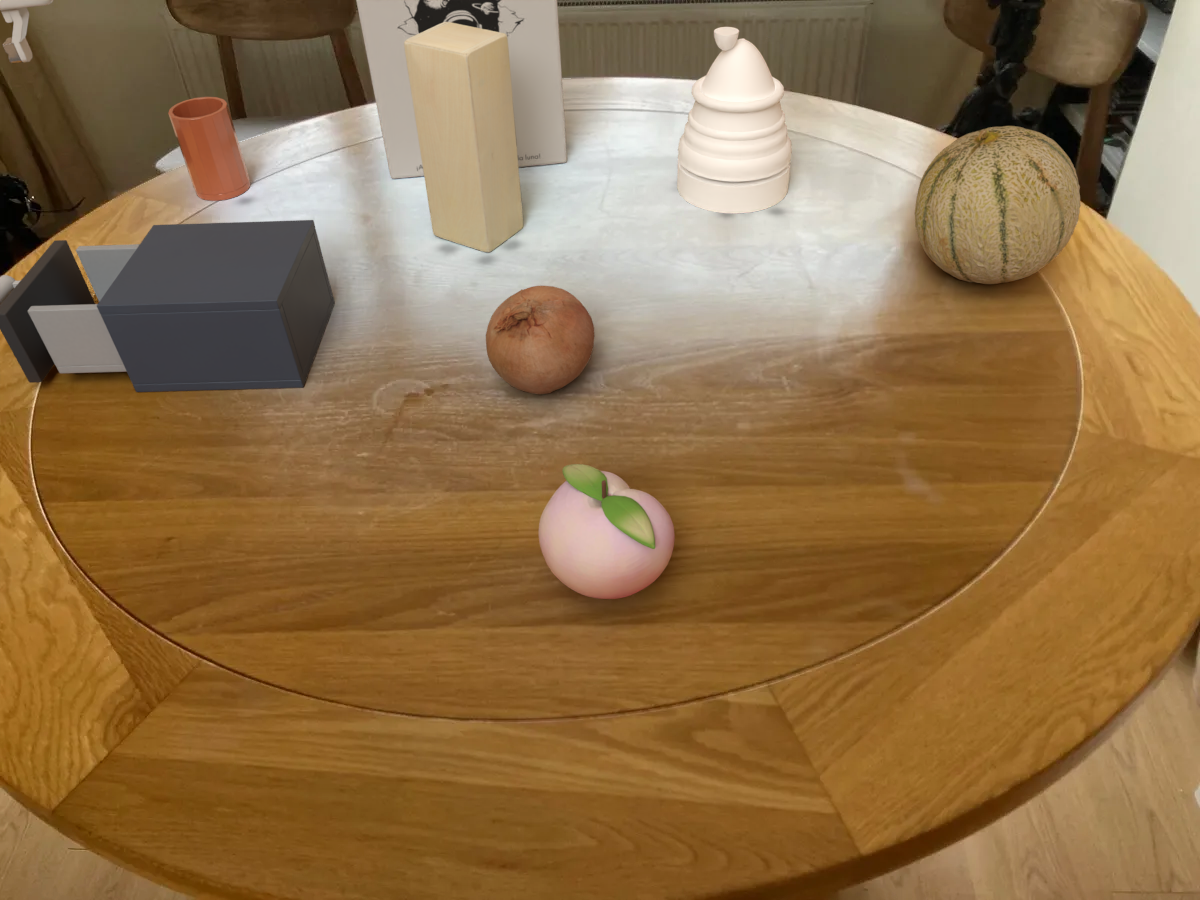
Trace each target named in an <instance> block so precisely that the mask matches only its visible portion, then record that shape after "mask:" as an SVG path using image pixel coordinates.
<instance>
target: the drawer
mask: <svg viewBox="0 0 1200 900" xmlns="http://www.w3.org/2000/svg"><path fill="white" fill-rule="evenodd" d="M139 245H140V243H133V244H132V243H131V244H103V245H78V246H77V248H76V249H75V252H76V254H77V256H78V259H79V261H80V263H81V266H82V267H83V270H84V272H85V274H86V276H87V279H88V281H89V284H90V285H91V287H92V289H93V292H94V294H95V296H96V299H97V300H98V303H99V302H100V300H101V299H102V297H103V296H104V294H105V293H106V292H107V290H108V289H109V287H110V286H111V285H112V283H113V282H114V280H115V279H116V277H117V276H118V275H119V273H120V272H121V270H122V269H123V268H124V266H125V265H126V263H127V262H128V260H129V259H130V258H131V256H132V255H133V253H134V252H135V251H136V249H137V248H138V246H139ZM98 303H96V302H95V300H94V298H93V295H92V293H91V291H90V289H89V286H88V285H87V282H86V280H85V277H84V275H83V273H82V271H81V269H80V267H79V265H78V263H77V260H76V258H75V255H74V254H73V251H72V250H71V247H70V244H69V243H68V240H66V239H60V240H59V239H58V240H54V241H53V242H52V243H51V244H50V245H49V246H48V248H47V249H46V250H45V251H44V252H43V253H42V255H41V256H40V257H39V258H38V259H37V260H36V261H35V263H34V264H33V265H32V267H31V268H30V269H29V270H28V271H27V273H26V274H25V275H24V276H23V277H22V278H21V280H16V279H15V278H14V277H12V276H10V275H8V274H3V275H0V332H1V334H2V335H3V337H4V339H5V341H6V343H7V344H8V347H9V348H10V350H11V352H12V354H13V356H14V358H15V359H16V361H17V363H18V365H19V367H20V368H21V370H22V372H23V374H24V376H25V378H26V379H27V381H28V383H30V384H32V383H43V381H44V380H45V379H46V377H47V376H48V375H49V373H50V372H51V371H52V369H53V367H56V369H57V371H58V373H59V374H87V373H88V374H92V373H124V372H125V373H127V371H126V369H125V367H124V365H123V362H122V360H121V358H120V356H119V354H118V351H117V349H116V347H115V345H114V343H113V340H112V338H111V336H110V334H109V332H108V330H107V327H106V325H105V323H104V321H103V319H102V316H101V314H100V313H99V310H98V308H97V304H98Z"/></svg>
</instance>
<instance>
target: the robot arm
mask: <svg viewBox="0 0 1200 900" xmlns="http://www.w3.org/2000/svg"><path fill="white" fill-rule="evenodd" d="M53 2H54V0H0V13H1V14H2V17H3V19H4V21H5V23H7V24H9V23H13V26H12V36H11V37H7V38H6V39H5V41H4V42H3V43H2V48H3V50H4V52H5V53H6V54H7V55H8V56H7V58H8V60H9V62H10V63H11V64H21V63H22V64H23V63H30V62H31V60H32V59H33V57H34V56H33V52H32V49H31V47H30V45H29V43H28V40H27V37H26V36H27V33H28V25H29V18H30V12H29V10H28V8H34V7H35V8H36V7H43V6H45V7H46V6H48V5H51V4H52V3H53Z"/></svg>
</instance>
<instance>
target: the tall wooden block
mask: <svg viewBox="0 0 1200 900" xmlns="http://www.w3.org/2000/svg"><path fill="white" fill-rule="evenodd" d="M404 49H405V55H406V62H407V68H408V74H409V81H410V87H411V94H412V100H413V106H414V113H415V119H416V126H417V132H418V139H419V146H420V152H421V159H422V165H423V171H424V176H423V177H424V184H425V191H426V196H427V197H426V198H427V203H428V209H429V215H430V223H431V228H432V234H433V235H434V236H435V237H437V238H440V239H443V240H446V241H450V242H452V243H456V244H458V245H462V246H465V247H468V248H471V249H474V250H477V251H480V252H482V253H491V252H492V251H494V250H495V249H497V248H498V247H500V246H501V245H503V243H505V242H506V241H508V240H509V239H510V238H511V237H513V236H514V235H516V234H517V233H519V232H520V231H521V230H522V229H523V228H524V218H523V217H524V216H523V204H522V193H521V192H522V191H521V181H520V167H518V156H517V145H516V133H515V121H514V110H513V98H512V85H511V73H510V61H509V48H508V39H507V35H506V34H504V33H500V32H495V31H490V30H486V29H481V28H476V27H471V26H466V25H461V24H456V23H451V22H443V23H441V24H438V25H436V26H434V27H432V28H430V29H428V30H426V31H424V32H421V33H419V34H417V35H415V36H413V37H411V38H409V39H407V40H405V42H404Z"/></svg>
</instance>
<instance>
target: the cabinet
mask: <svg viewBox="0 0 1200 900" xmlns="http://www.w3.org/2000/svg"><path fill="white" fill-rule="evenodd" d="M139 244H140V245H139V246H138V248H137V249H136V251H135V252H134V253H133V255H132V256H131V258H130V259H129V260H128V262H127V263H126V265H125V266H124V268H123V269H122V270H121V272H120V273H119V275H118V276H117V277H116V279H115V280H114V282H113V283H112V285H111V286H110V287H109V289H108V290H107V292H106V293H105V294H104V296H103V297H102V299H101V300H100V302H99V301H98V303H96V304H97V308H98V310H99V313H100V314H101V316H102V319H103V321H104V323H105V325H106V327H107V330H108V332H109V334H110V336H111V338H112V340H113V343H114V345H115V347H116V349H117V351H118V354H119V356H120V358H121V360H122V362H123V365H124V367H125V369H126V371H127V372H126V373H127V375H128V378H129V380H130V383H131V384H132V387H133V389H134V391H135V392H136V393H151V392H152V393H153V392H155V393H156V392H188V391H189V392H191V391H195V392H196V391H227V390H265V389H267V390H268V389H298V388H299V389H301V388H304V387H305V384H306V381H307V378H308V375H309V373H310V371H311V368H312V365H313V363H314V360H315V357H316V355H317V351H318V349H319V348H320V344H321V341H322V339H323V336H324V333H325V330H326V328H327V325H328V323H329V320H330V317H331V314H332V311H333V309H334V307H335V304H336V303H335V298H334V295H333V290H332V286H331V283H330V279H329V275H328V270H327V267H326V264H325V260H324V256H323V252H322V248H321V244H320V240H319V237H318V232H317V229H316V225H315V221H314V219H299V220H270V221H267V220H266V221H264V220H263V221H237V222H235V221H233V222H207V223H175V224H173V223H172V224H171V223H170V224H153V225H152V226H151V228H150V229H149V231H148V232H147V234H146V235H145V236H144V237H143V239H142V240H141V242H140V243H139Z"/></svg>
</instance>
